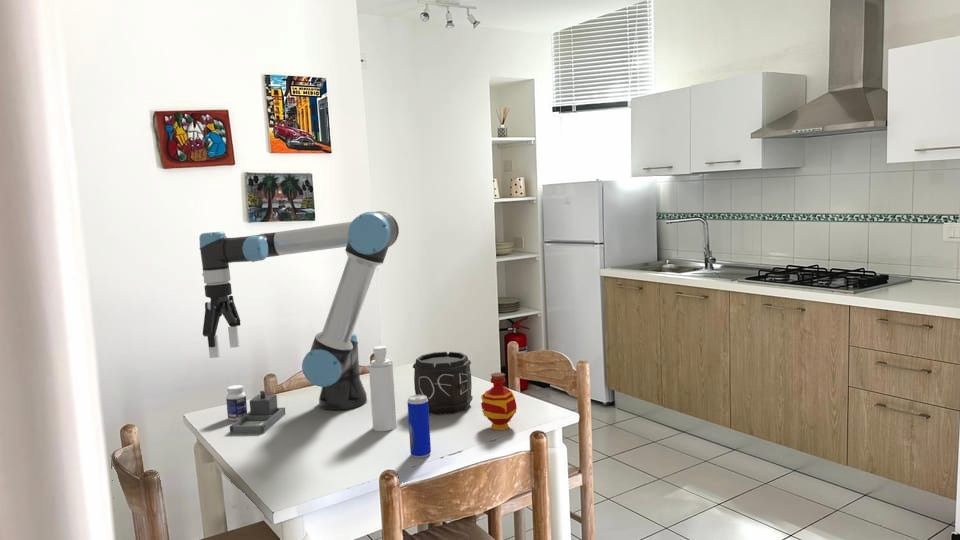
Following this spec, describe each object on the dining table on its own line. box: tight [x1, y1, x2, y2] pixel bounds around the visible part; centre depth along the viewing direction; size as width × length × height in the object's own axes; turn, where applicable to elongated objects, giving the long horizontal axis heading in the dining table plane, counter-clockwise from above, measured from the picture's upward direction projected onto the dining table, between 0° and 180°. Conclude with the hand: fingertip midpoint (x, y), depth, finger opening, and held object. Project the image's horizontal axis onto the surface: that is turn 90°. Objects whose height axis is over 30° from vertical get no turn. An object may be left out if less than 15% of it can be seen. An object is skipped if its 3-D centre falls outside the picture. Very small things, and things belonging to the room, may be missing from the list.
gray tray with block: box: [229, 390, 286, 435], centre depth 204 cm, size 10×17×9 cm, turn 175°
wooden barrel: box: [412, 351, 474, 416], centre depth 212 cm, size 18×18×16 cm
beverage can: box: [407, 394, 432, 459], centre depth 173 cm, size 5×5×15 cm
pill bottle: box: [226, 384, 248, 422], centre depth 211 cm, size 6×6×10 cm
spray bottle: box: [368, 345, 397, 432], centre depth 195 cm, size 7×7×25 cm
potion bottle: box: [480, 372, 518, 431], centre depth 191 cm, size 10×10×15 cm
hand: (225, 352), depth 209 cm, fingers open, 13 cm apart
